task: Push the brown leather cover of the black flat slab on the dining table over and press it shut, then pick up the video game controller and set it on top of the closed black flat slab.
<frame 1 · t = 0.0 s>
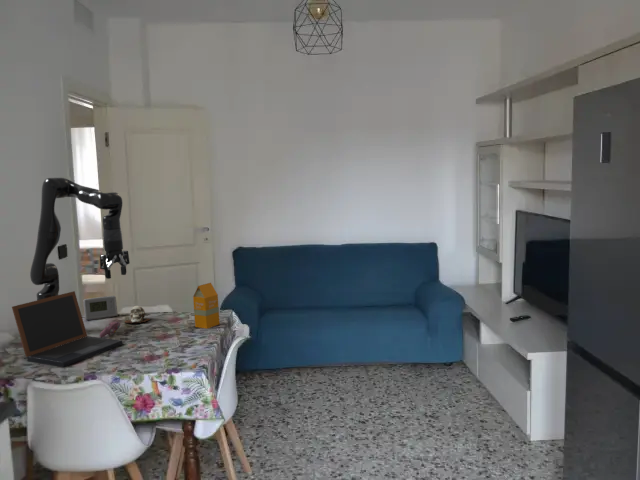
hand: (116, 276, 244), 29 cm above the table, tool pointing down, fingers open, 8 cm apart
black flat slab: (76, 352, 236), on the table
video game controller: (110, 334, 261), on the table
tablet cover: (51, 322, 241), point 12 cm above the table, hinge at 105.0°
skull: (137, 322, 283), on the table
digital clock: (101, 318, 294), on the table
orange juice: (207, 325, 270), on the table
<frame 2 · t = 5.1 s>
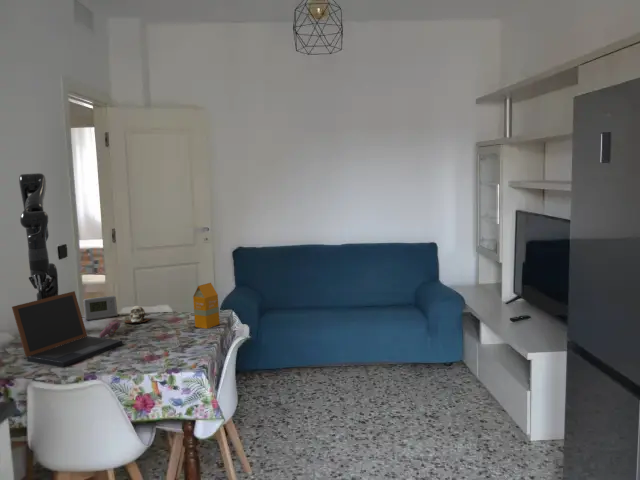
hand: (42, 298, 241), 22 cm above the table, tool pointing down, fingers closed
tablet cover: (51, 322, 241), point 12 cm above the table, hinge at 105.0°, touching gripper
everything else where it was.
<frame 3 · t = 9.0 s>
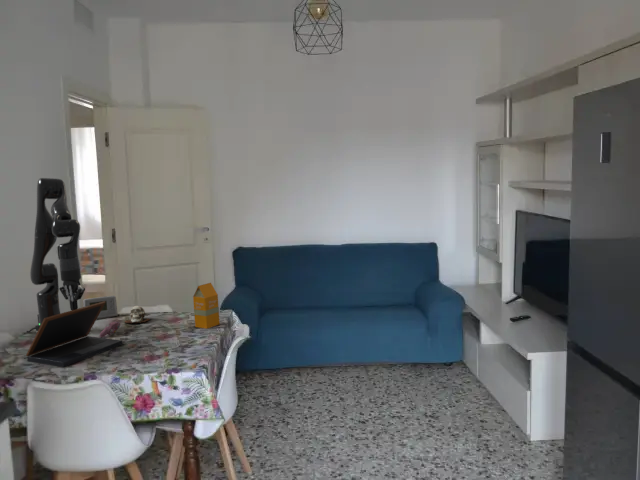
hand: (74, 309, 233), 18 cm above the table, tool pointing down, fingers closed
tablet cover: (67, 327, 237), point 10 cm above the table, hinge at 50.8°, touching gripper
everything else where it was.
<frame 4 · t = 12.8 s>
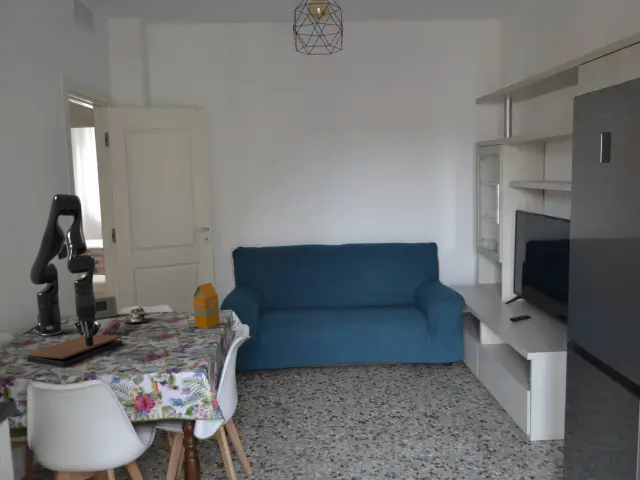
hand: (89, 345, 232), 4 cm above the table, tool pointing down, fingers closed
tablet cover: (76, 345, 236), point 3 cm above the table, hinge at 3.3°, touching gripper, black flat slab
everything else where it was.
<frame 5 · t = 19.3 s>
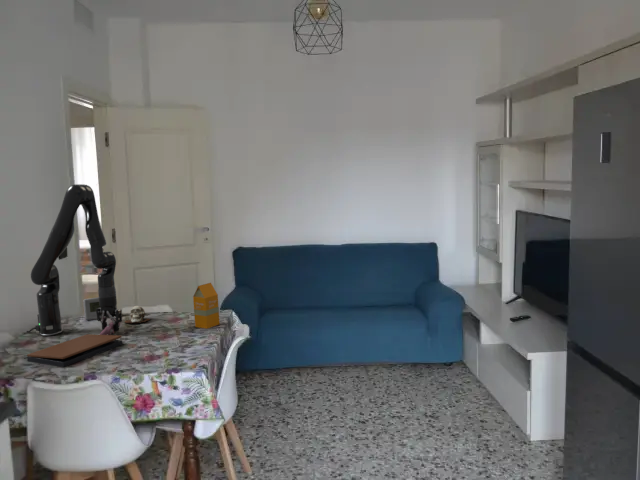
hand: (110, 330, 261), 2 cm above the table, tool pointing down, fingers closed on video game controller, 6 cm apart
video game controller: (110, 334, 261), on the table, touching gripper
tablet cover: (76, 345, 236), point 3 cm above the table, hinge at 3.4°, touching black flat slab
everything else where it was.
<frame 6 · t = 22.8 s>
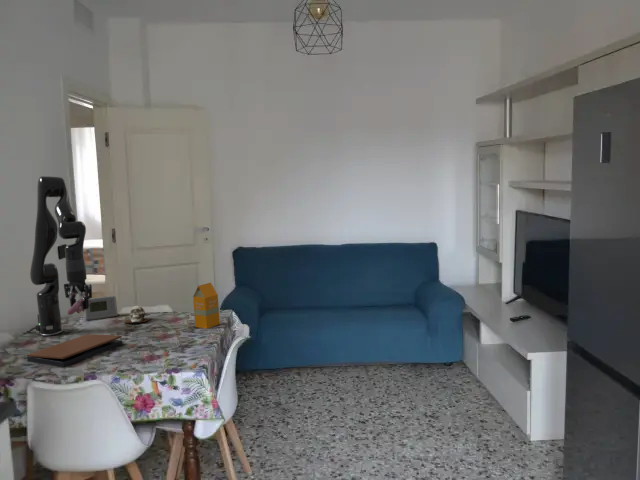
hand: (79, 308, 238), 18 cm above the table, tool pointing down, fingers closed on video game controller, 6 cm apart
video game controller: (80, 312, 239), point 16 cm above the table, touching gripper
everything else where it was.
when the fingers open (5 cm above the table, at t = 26.5 s): video game controller stays where it is, resting on tablet cover.
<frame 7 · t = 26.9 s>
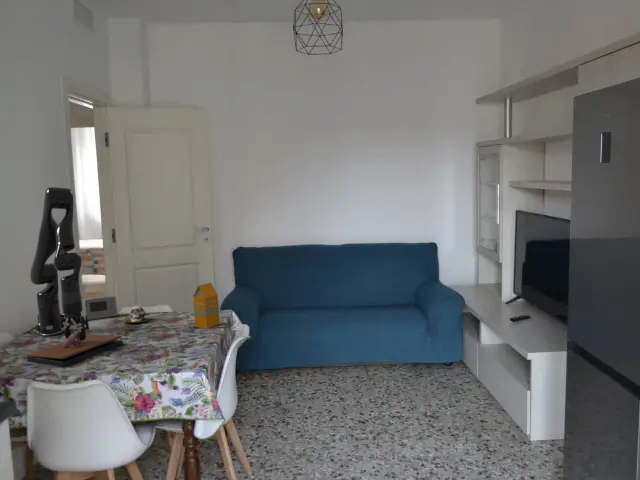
hand: (75, 339, 235), 6 cm above the table, tool pointing down, fingers open, 8 cm apart
video game controller: (76, 345, 236), point 3 cm above the table, touching tablet cover
tablet cover: (76, 345, 236), point 3 cm above the table, hinge at 3.3°, touching black flat slab, video game controller
everything else where it was.
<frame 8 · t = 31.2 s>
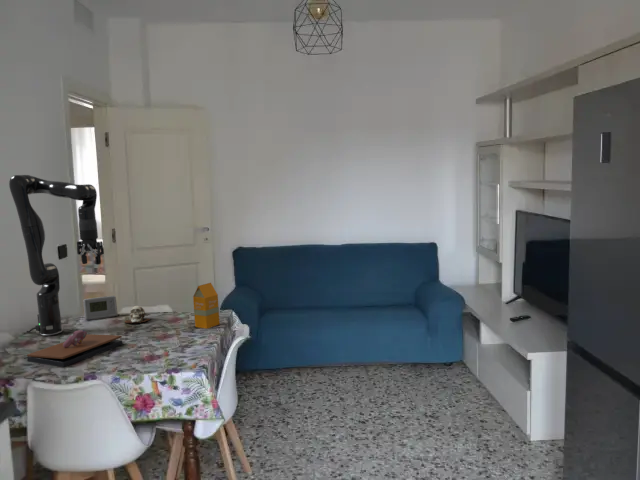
hand: (91, 264, 258), 33 cm above the table, tool pointing down, fingers open, 8 cm apart
nothing on the table moved.
at the end: tablet cover at +3° (first picture: +105°); video game controller inside the target area on the black flat slab (0.1 cm from its centre), point 3.1 cm above the black flat slab's base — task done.
